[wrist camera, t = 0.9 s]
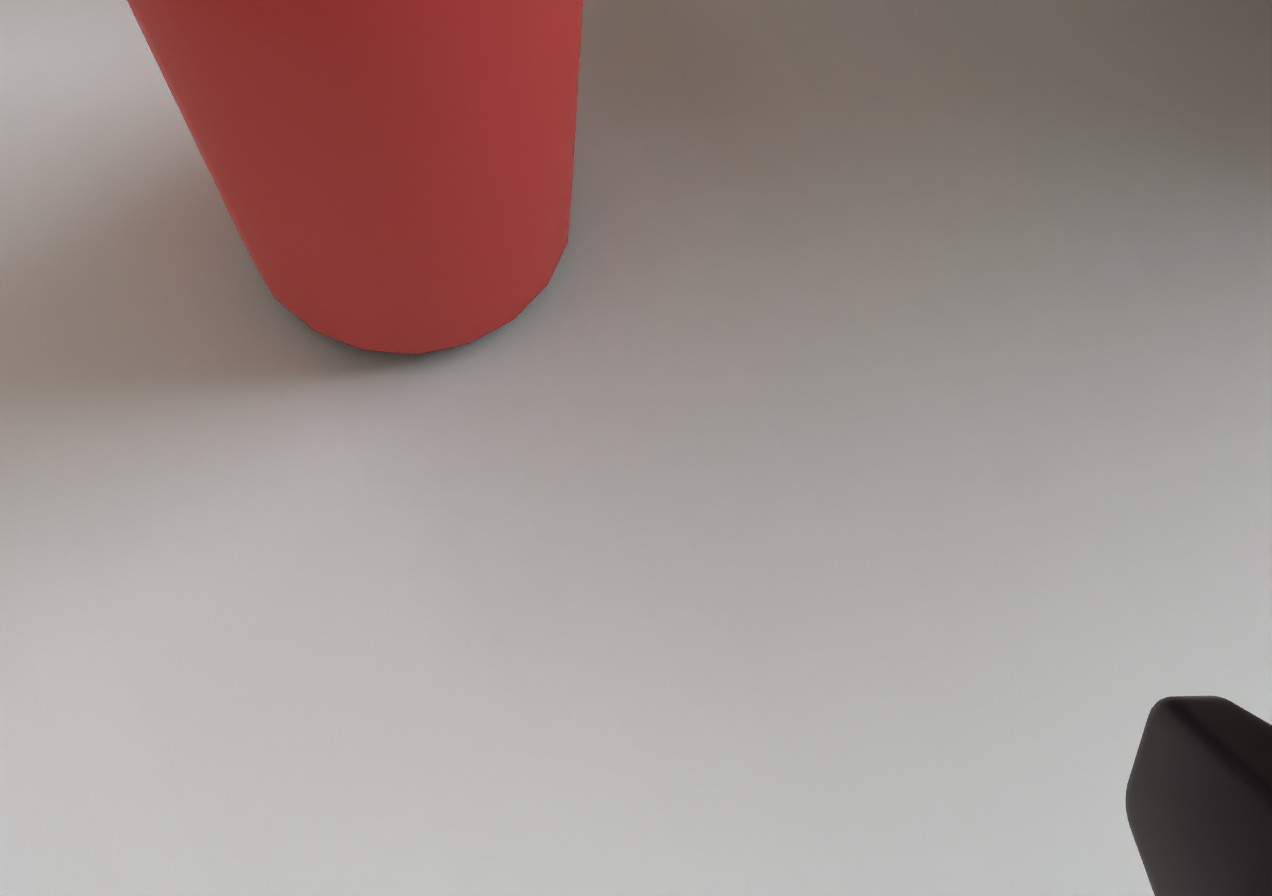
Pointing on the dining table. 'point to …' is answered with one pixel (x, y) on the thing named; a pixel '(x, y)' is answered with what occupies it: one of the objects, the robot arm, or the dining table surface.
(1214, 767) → the robot arm
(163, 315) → the dining table surface
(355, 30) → the beer can
